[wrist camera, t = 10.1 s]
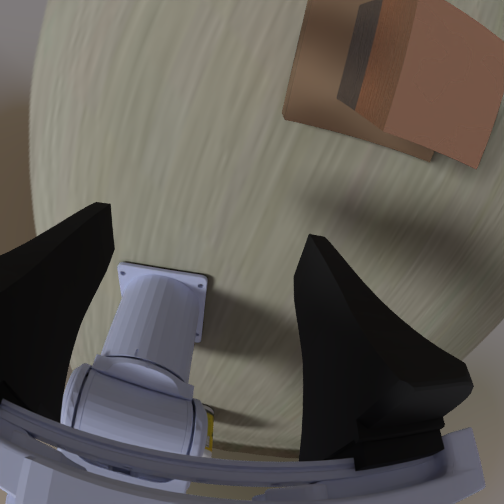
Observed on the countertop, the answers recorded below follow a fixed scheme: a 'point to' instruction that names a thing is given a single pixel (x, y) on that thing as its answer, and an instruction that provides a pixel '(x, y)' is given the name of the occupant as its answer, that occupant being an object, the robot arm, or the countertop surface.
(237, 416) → the countertop surface
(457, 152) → the block
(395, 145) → the walnut stand
